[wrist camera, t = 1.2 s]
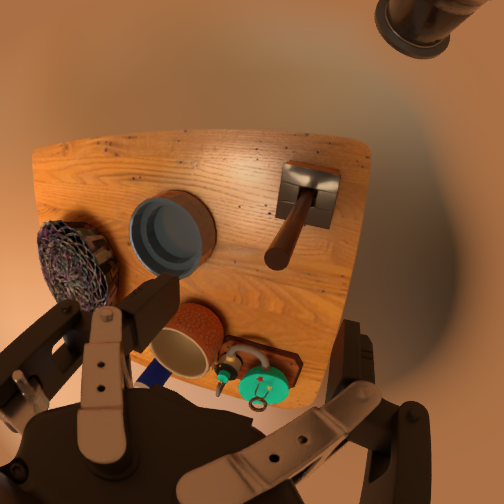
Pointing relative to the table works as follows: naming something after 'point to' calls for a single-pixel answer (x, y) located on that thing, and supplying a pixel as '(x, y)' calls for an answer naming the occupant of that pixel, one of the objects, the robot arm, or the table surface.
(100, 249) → the decorative bowl
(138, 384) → the beverage can
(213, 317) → the planter
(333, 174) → the holder
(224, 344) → the contraption on wooden base
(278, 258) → the stirring stick
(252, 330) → the table surface
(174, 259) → the bowl
